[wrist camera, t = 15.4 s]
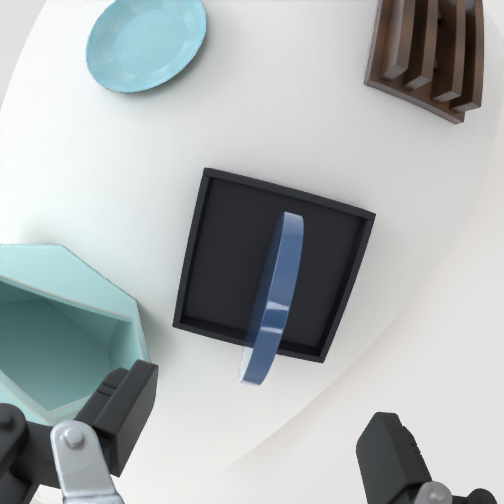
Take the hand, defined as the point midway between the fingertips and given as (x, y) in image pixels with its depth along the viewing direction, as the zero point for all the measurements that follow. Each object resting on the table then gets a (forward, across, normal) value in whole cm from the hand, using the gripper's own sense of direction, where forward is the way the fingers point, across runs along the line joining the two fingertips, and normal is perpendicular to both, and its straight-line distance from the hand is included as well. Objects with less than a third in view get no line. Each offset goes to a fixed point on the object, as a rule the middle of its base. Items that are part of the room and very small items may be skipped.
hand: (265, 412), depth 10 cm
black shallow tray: (+18, 0, 0) cm, 19 cm away
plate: (+12, 0, 0) cm, 12 cm away
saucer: (+19, +16, -18) cm, 30 cm away
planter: (+19, +17, +9) cm, 27 cm away
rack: (+19, -9, -25) cm, 32 cm away
